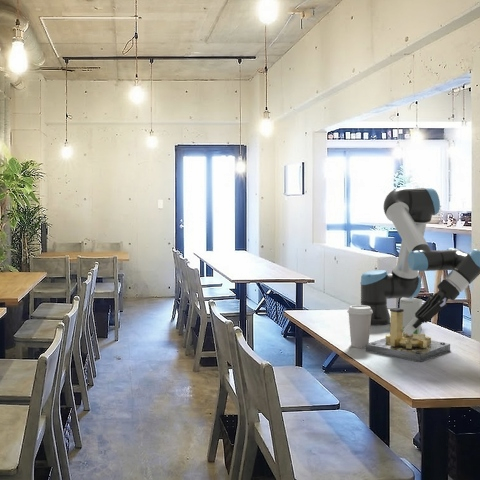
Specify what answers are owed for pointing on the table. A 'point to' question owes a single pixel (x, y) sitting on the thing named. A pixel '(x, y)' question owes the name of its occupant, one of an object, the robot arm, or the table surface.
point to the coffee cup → (359, 325)
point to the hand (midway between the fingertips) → (406, 332)
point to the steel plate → (406, 353)
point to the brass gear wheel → (397, 333)
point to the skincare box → (410, 310)
